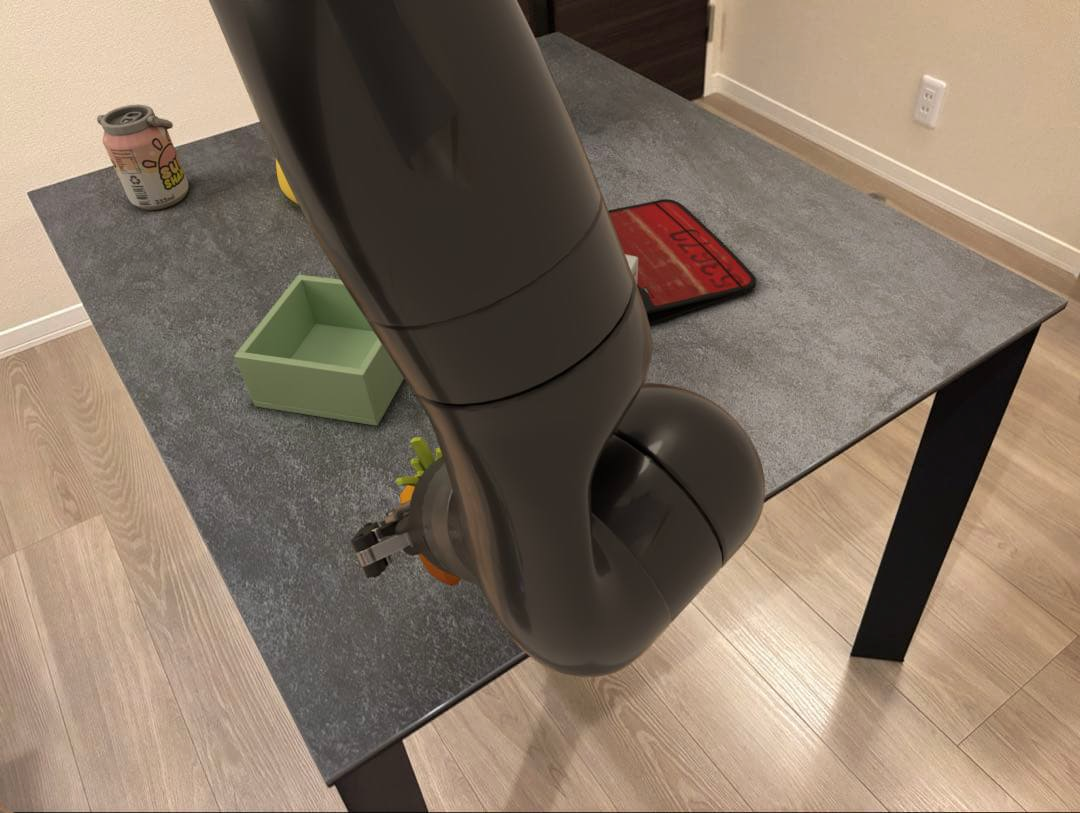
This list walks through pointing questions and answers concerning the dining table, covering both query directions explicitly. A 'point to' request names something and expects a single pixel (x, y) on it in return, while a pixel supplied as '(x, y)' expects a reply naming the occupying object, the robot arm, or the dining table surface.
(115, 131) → the beverage can
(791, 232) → the dining table surface
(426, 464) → the carrot
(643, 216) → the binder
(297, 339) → the bin
